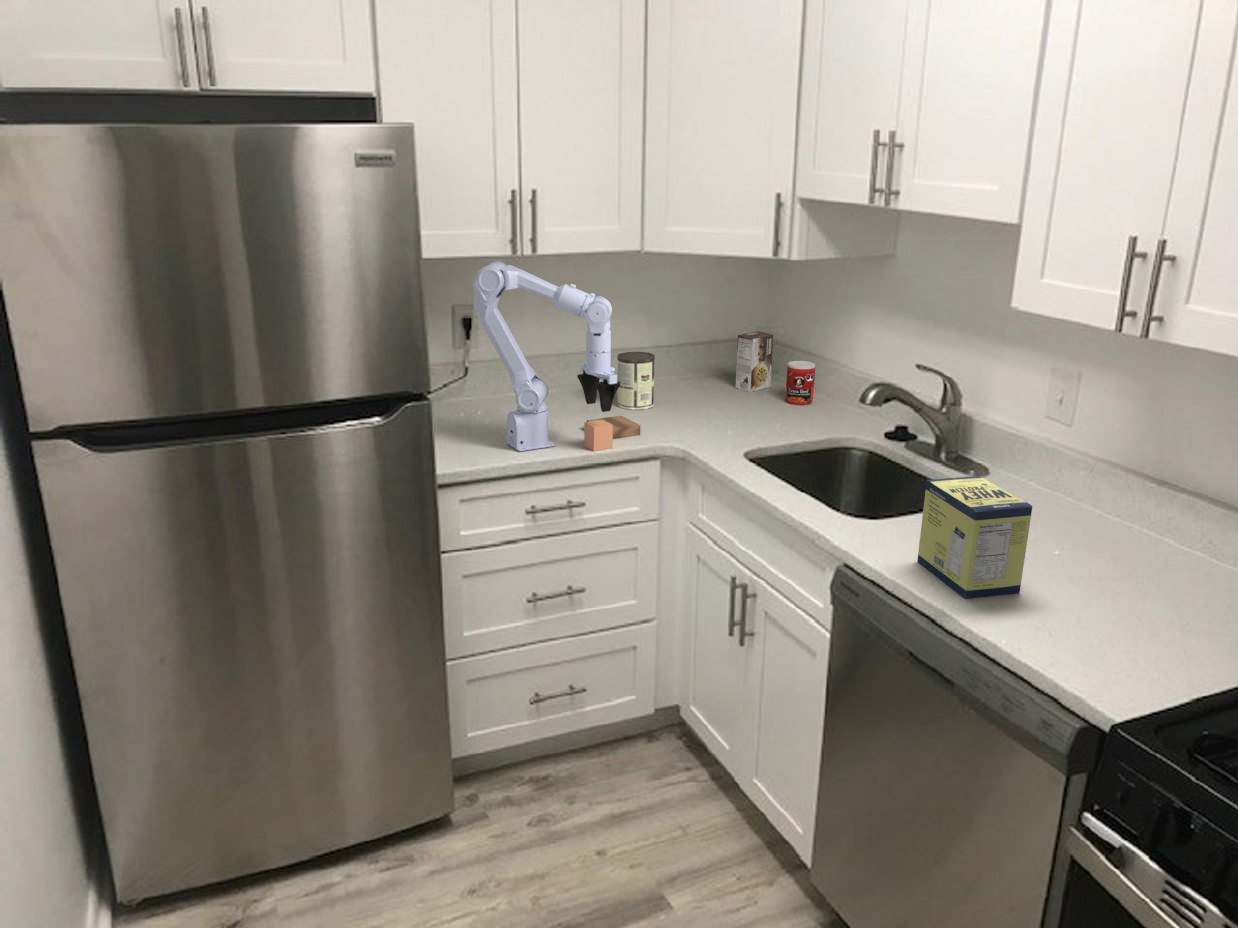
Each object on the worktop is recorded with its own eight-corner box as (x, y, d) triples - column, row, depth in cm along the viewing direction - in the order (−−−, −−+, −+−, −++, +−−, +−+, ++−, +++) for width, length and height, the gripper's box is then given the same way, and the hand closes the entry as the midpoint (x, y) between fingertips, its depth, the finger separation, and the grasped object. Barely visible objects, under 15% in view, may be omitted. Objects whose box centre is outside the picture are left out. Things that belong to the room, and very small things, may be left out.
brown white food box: (755, 383, 294) (758, 330, 288) (771, 387, 289) (774, 334, 284) (734, 388, 288) (736, 334, 283) (750, 392, 283) (753, 337, 278)
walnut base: (605, 442, 238) (605, 430, 237) (586, 431, 246) (586, 420, 245) (640, 436, 242) (640, 425, 241) (620, 426, 250) (620, 415, 249)
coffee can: (629, 398, 275) (630, 349, 271) (660, 404, 270) (662, 354, 266) (609, 406, 267) (609, 356, 263) (641, 412, 262) (642, 361, 257)
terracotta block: (593, 451, 229) (593, 427, 227) (584, 446, 233) (584, 422, 231) (612, 448, 231) (612, 424, 229) (602, 443, 235) (602, 419, 234)
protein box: (967, 555, 174) (978, 474, 169) (1021, 593, 160) (1035, 505, 155) (915, 561, 172) (924, 478, 167) (965, 600, 157) (977, 511, 152)
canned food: (783, 404, 271) (785, 365, 268) (787, 397, 278) (789, 359, 275) (811, 406, 269) (813, 367, 265) (814, 399, 276) (817, 361, 273)
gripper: (628, 355, 221) (628, 412, 225) (599, 343, 233) (598, 398, 237) (601, 358, 217) (601, 416, 222) (572, 346, 229) (573, 401, 234)
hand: (598, 407), depth 229 cm, fingers open, 7 cm apart
